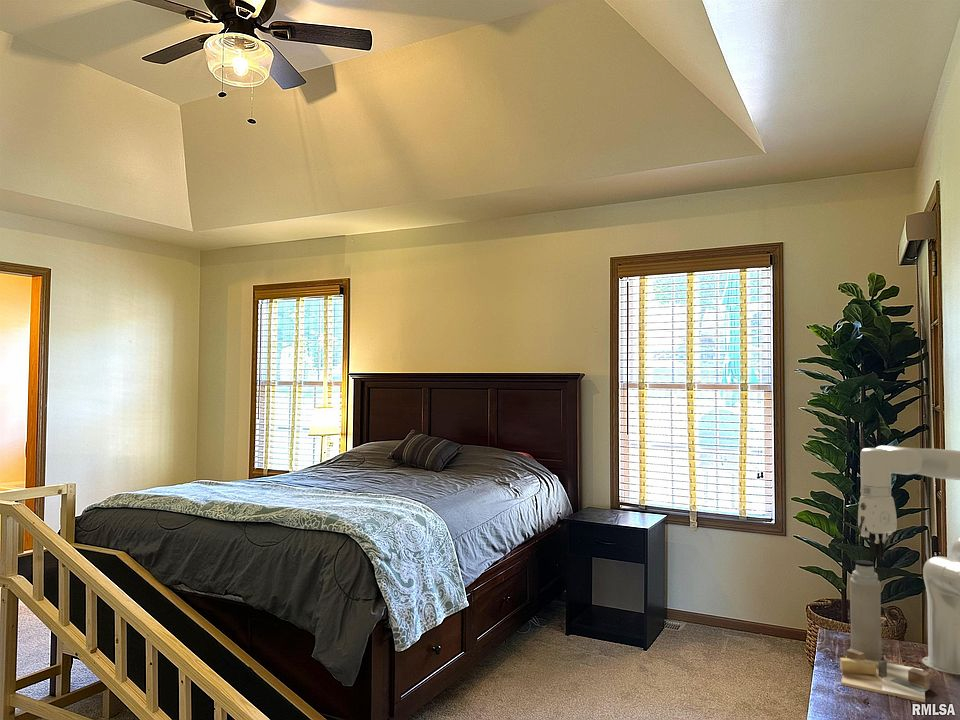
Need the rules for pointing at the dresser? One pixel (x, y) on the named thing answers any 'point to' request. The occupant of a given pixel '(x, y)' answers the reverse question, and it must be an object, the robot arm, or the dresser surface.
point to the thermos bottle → (865, 610)
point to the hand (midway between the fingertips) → (876, 556)
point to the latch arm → (857, 666)
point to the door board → (889, 679)
